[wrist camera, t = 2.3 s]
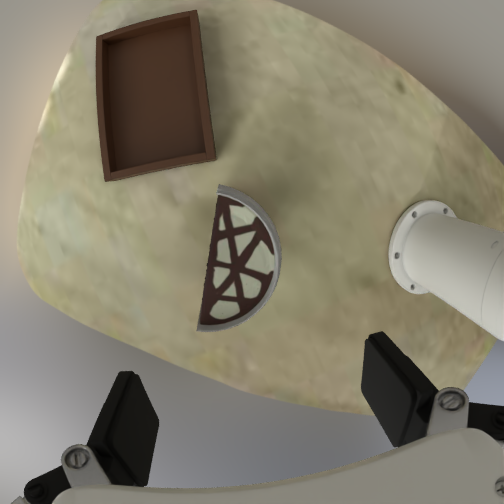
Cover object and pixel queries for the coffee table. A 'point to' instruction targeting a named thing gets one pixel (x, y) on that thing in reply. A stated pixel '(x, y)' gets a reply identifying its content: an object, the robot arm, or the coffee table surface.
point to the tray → (153, 97)
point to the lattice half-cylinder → (238, 262)
